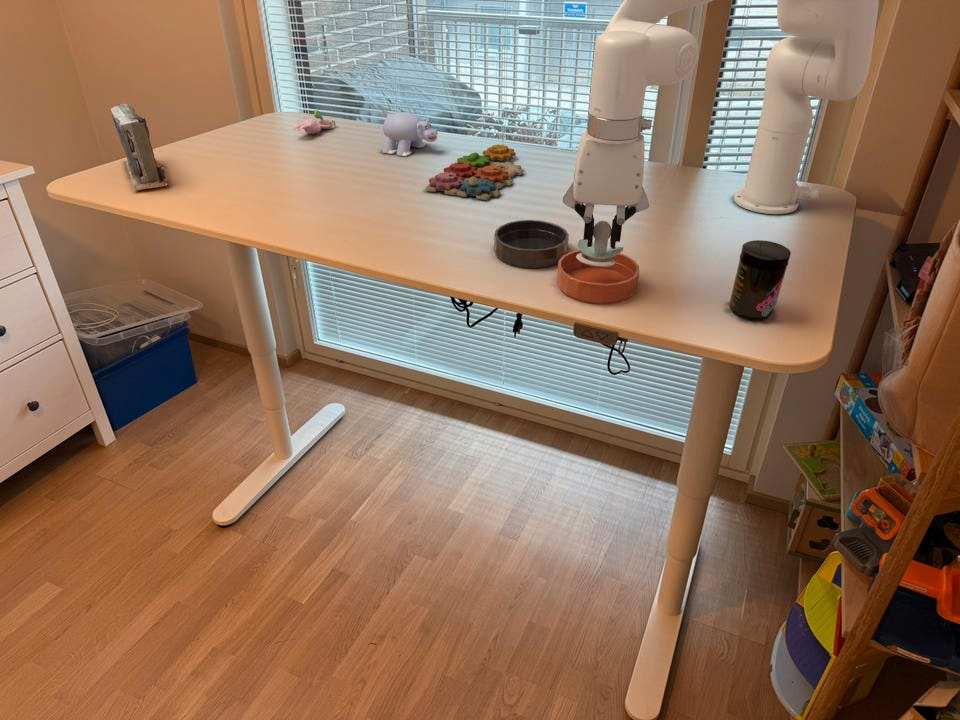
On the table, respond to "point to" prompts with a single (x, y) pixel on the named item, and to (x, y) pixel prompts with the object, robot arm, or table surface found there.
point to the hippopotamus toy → (405, 132)
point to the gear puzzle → (477, 174)
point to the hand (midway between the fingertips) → (601, 243)
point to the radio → (137, 148)
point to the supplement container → (758, 279)
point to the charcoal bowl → (530, 243)
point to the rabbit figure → (314, 124)
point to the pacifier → (598, 247)
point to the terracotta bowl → (598, 279)
